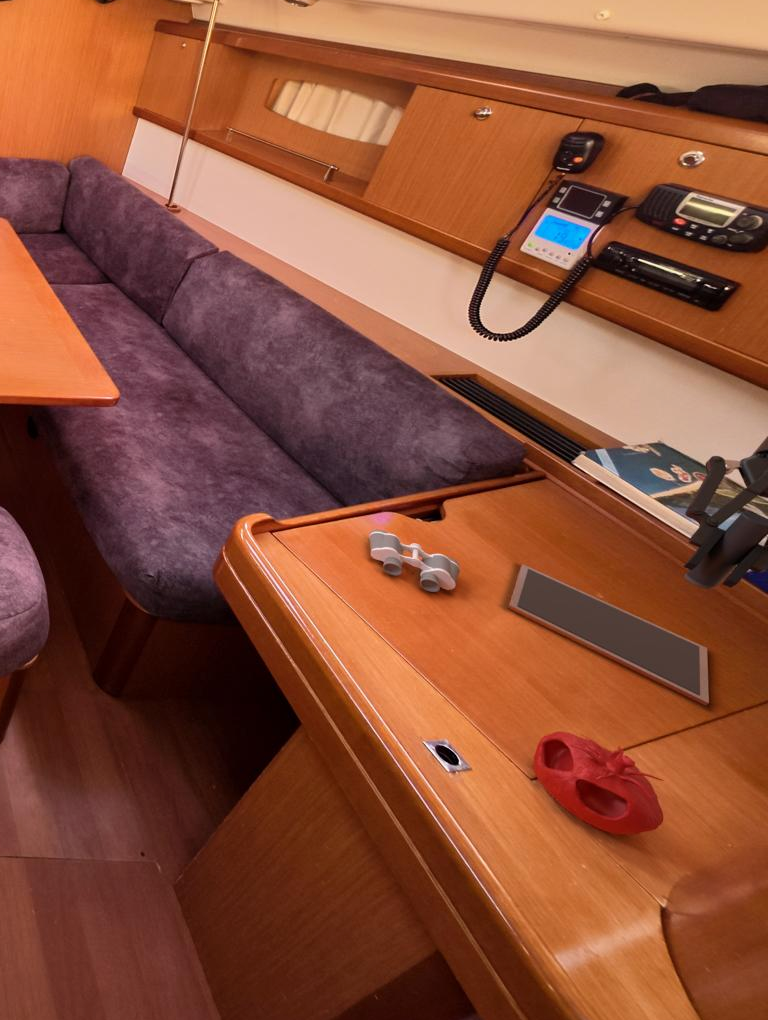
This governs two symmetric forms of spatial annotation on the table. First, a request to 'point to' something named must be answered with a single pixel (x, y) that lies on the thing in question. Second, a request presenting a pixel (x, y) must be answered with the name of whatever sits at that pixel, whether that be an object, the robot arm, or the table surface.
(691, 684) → the tablet
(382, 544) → the binoculars
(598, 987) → the table surface
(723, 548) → the dark gray cylinder
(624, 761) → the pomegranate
